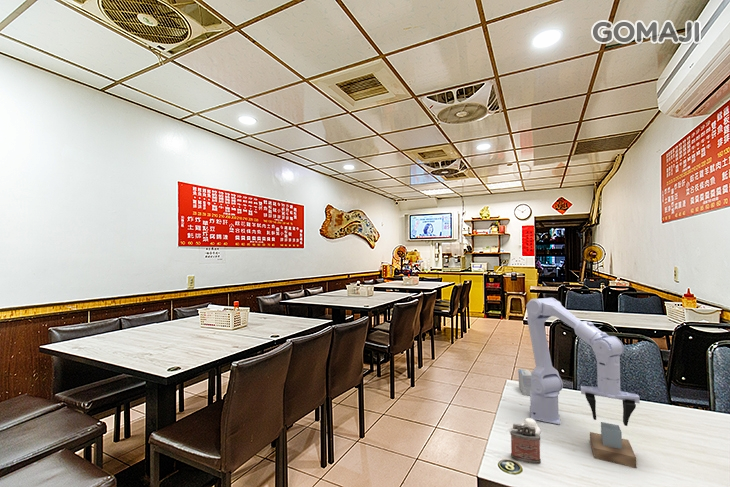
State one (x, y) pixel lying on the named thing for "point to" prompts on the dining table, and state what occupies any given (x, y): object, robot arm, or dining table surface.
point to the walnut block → (612, 451)
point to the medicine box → (525, 381)
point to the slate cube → (611, 435)
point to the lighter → (525, 444)
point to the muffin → (532, 425)
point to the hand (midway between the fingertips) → (609, 421)
